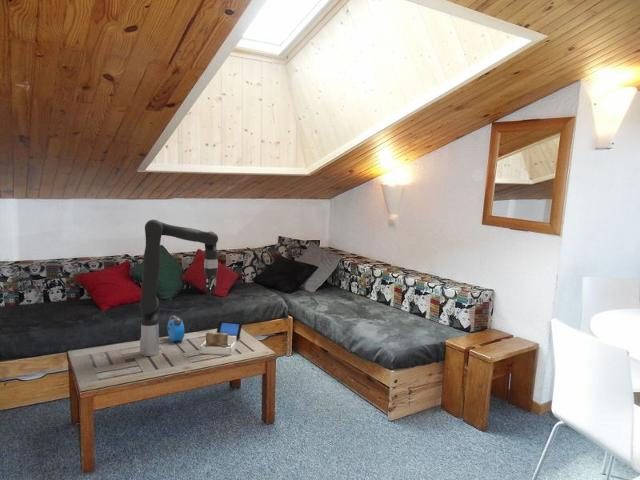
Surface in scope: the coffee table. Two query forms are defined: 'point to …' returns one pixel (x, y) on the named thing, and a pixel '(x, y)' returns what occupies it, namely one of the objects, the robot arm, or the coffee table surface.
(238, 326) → the handheld game console
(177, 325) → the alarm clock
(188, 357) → the coffee table surface
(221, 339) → the door panel
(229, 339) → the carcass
